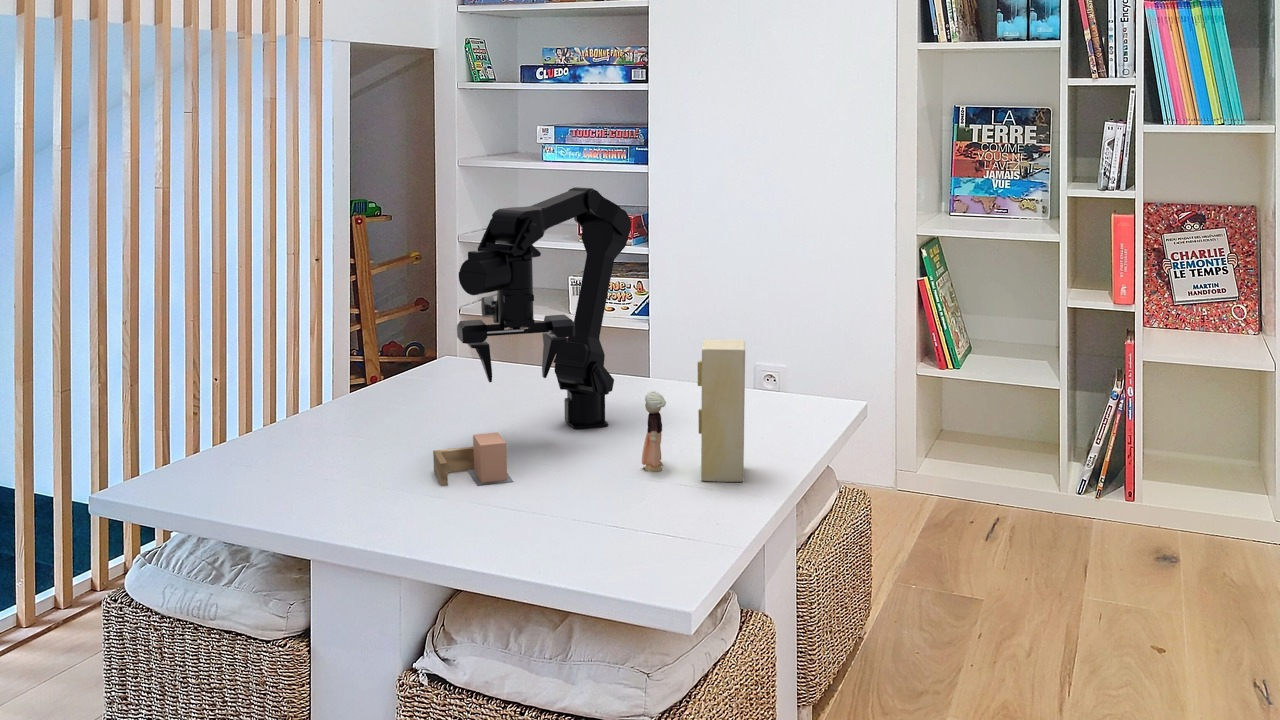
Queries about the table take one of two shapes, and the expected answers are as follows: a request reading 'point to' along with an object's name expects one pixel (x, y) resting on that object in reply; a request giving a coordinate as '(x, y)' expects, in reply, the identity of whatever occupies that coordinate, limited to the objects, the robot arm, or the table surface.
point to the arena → (457, 464)
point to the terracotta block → (490, 457)
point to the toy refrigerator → (722, 409)
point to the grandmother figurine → (653, 432)
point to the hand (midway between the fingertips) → (517, 379)
